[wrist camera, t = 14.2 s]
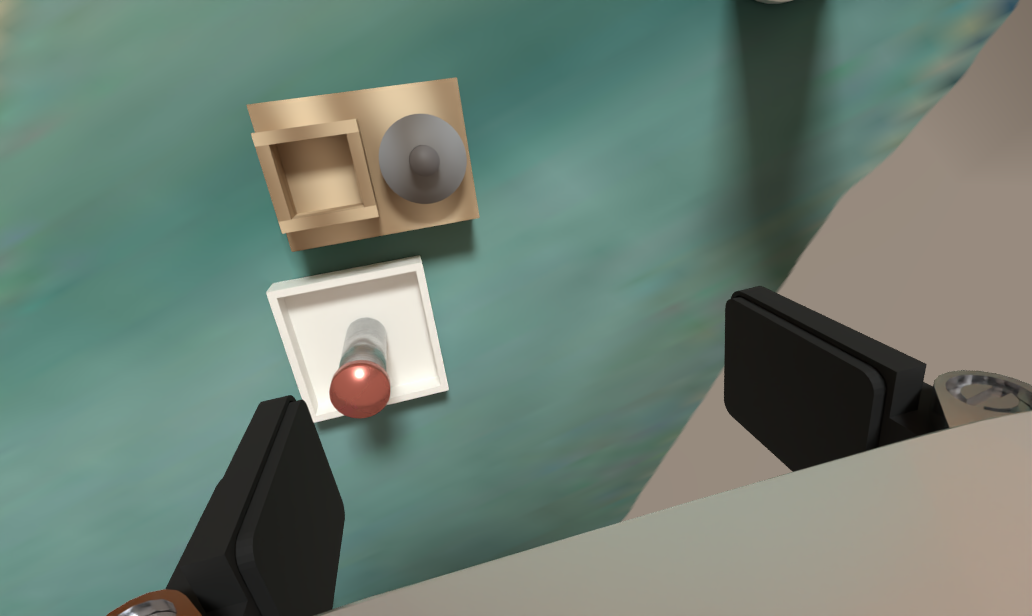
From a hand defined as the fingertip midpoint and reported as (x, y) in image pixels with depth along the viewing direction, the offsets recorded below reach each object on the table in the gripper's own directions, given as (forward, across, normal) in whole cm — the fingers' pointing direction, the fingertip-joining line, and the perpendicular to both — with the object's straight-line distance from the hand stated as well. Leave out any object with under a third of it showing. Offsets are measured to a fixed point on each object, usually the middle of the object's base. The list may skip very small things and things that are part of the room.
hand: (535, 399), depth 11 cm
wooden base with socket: (+33, +4, -3) cm, 34 cm away
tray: (+33, +9, +11) cm, 36 cm away
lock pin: (+32, +8, +11) cm, 35 cm away
